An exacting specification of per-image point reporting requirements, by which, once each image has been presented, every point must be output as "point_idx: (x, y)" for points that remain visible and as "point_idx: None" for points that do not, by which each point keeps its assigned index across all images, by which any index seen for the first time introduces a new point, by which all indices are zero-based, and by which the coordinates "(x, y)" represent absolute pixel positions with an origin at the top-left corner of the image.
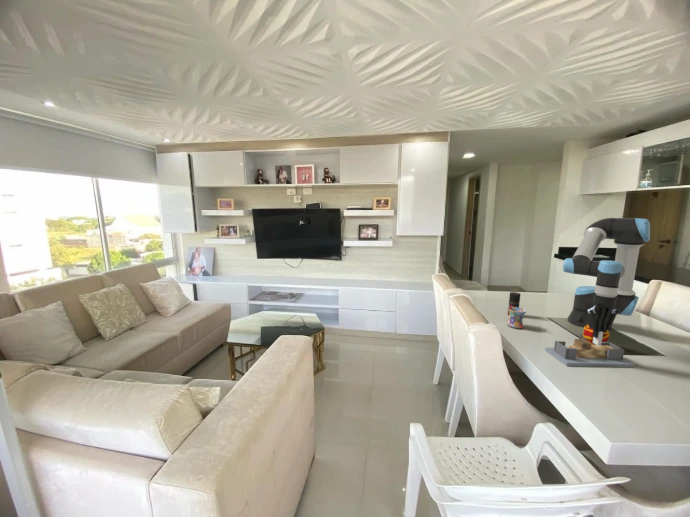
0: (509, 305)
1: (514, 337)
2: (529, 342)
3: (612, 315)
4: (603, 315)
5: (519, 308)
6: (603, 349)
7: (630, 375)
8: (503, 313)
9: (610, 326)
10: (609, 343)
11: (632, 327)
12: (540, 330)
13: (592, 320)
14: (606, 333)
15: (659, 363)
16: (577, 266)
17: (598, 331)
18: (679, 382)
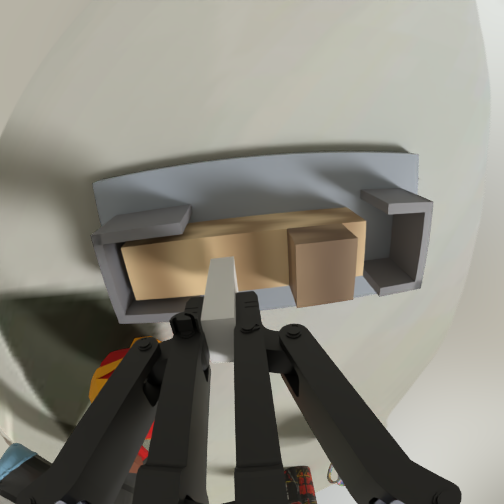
0: (314, 493)
1: (418, 356)
2: (401, 334)
3: (85, 481)
4: (241, 500)
5: (343, 483)
6: (196, 244)
7: (167, 92)
8: (314, 472)
9: (124, 368)
10: (124, 311)
11: (23, 418)
12: (283, 423)
13: (364, 406)
14: (106, 381)
15: (7, 238)
16: None
17: (249, 321)
18: (28, 97)
